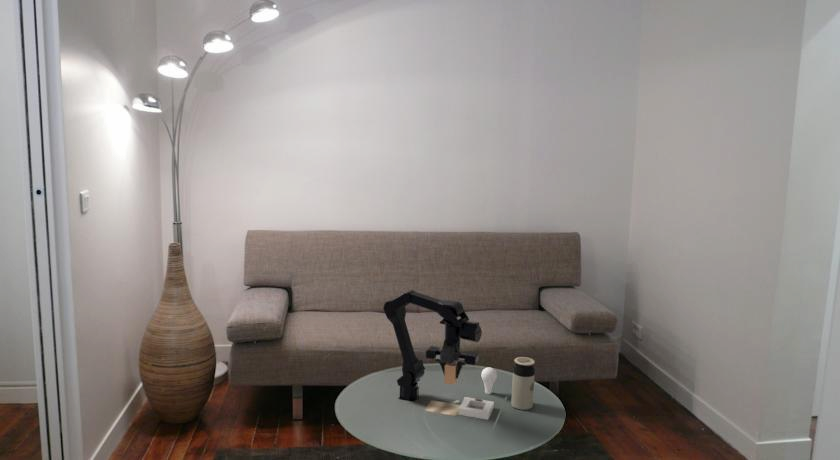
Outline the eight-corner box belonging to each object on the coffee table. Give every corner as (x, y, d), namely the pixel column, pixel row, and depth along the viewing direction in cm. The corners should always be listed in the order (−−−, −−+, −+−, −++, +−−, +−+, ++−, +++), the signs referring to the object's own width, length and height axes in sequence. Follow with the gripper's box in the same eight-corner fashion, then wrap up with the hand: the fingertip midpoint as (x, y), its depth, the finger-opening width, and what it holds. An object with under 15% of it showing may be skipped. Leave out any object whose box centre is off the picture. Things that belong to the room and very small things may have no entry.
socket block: (458, 416, 218) (458, 406, 217) (464, 404, 227) (465, 395, 227) (488, 421, 215) (488, 411, 214) (493, 409, 224) (493, 400, 223)
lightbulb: (495, 398, 233) (496, 371, 231) (479, 396, 234) (480, 370, 232) (496, 392, 239) (497, 365, 237) (481, 390, 240) (482, 364, 238)
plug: (444, 383, 219) (444, 363, 218) (447, 378, 223) (447, 359, 222) (454, 384, 218) (455, 365, 217) (457, 380, 221) (458, 361, 220)
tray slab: (424, 411, 220) (424, 410, 220) (431, 401, 229) (431, 400, 229) (455, 417, 217) (455, 416, 216) (461, 406, 225) (461, 405, 225)
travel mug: (507, 405, 227) (509, 360, 225) (518, 399, 233) (521, 355, 230) (524, 412, 222) (527, 366, 219) (536, 405, 228) (539, 360, 225)
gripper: (421, 340, 213) (420, 382, 215) (472, 347, 207) (470, 390, 210) (430, 331, 223) (429, 370, 226) (479, 337, 218) (478, 378, 220)
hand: (451, 377), depth 220 cm, fingers closed on plug, 4 cm apart
